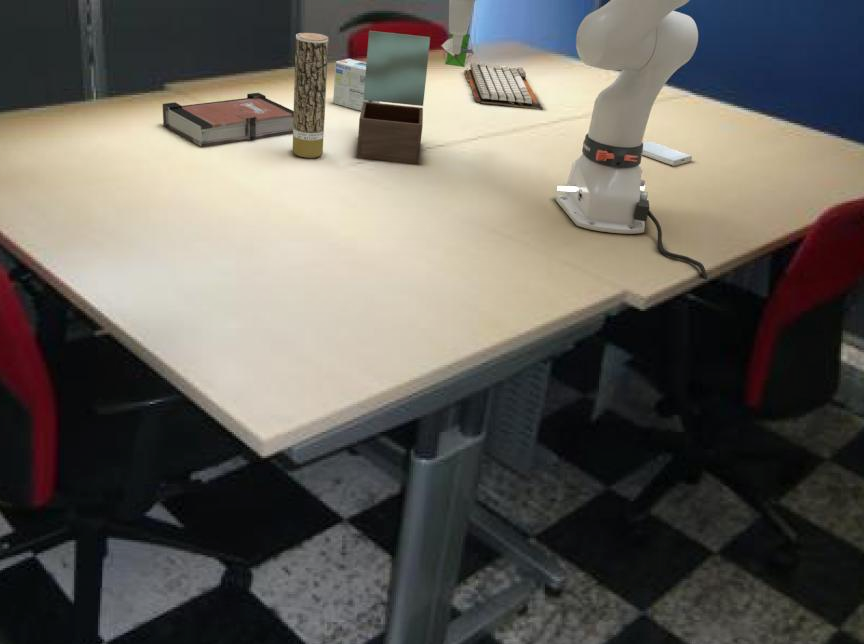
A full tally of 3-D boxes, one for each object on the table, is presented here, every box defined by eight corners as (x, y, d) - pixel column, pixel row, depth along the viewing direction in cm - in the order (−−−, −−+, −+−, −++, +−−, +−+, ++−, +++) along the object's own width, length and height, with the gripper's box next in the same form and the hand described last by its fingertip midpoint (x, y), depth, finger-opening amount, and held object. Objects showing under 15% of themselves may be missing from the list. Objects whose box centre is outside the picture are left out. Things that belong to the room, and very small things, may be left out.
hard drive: (632, 145, 226) (674, 159, 219) (650, 140, 231) (692, 154, 224) (630, 151, 227) (672, 166, 220) (649, 147, 232) (690, 161, 225)
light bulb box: (379, 108, 239) (383, 65, 233) (365, 112, 234) (368, 69, 228) (346, 99, 243) (349, 57, 237) (332, 103, 238) (334, 61, 232)
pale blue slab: (430, 37, 205) (430, 37, 206) (369, 30, 205) (369, 30, 206) (423, 106, 210) (423, 106, 211) (363, 99, 210) (363, 99, 210)
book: (203, 148, 199) (202, 125, 196) (163, 125, 209) (162, 103, 206) (299, 133, 214) (300, 112, 211) (258, 113, 225) (258, 92, 222)
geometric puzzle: (446, 47, 202) (445, 20, 194) (476, 52, 201) (476, 25, 193) (439, 73, 199) (438, 46, 192) (469, 77, 198) (469, 51, 191)
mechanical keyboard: (543, 109, 253) (545, 97, 251) (476, 104, 251) (477, 92, 250) (522, 76, 284) (524, 65, 283) (462, 71, 283) (463, 60, 281)
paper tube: (328, 155, 202) (335, 38, 189) (306, 161, 198) (311, 41, 184) (308, 147, 206) (313, 31, 192) (286, 152, 202) (289, 34, 188)
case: (418, 164, 204) (422, 125, 199) (356, 157, 203) (359, 118, 198) (418, 144, 215) (422, 107, 211) (360, 138, 215) (363, 101, 210)
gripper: (454, -29, 198) (447, 38, 205) (447, -15, 180) (439, 57, 188) (483, -25, 197) (474, 41, 205) (478, -11, 180) (469, 61, 188)
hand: (457, 49), depth 196 cm, fingers closed on geometric puzzle, 7 cm apart
